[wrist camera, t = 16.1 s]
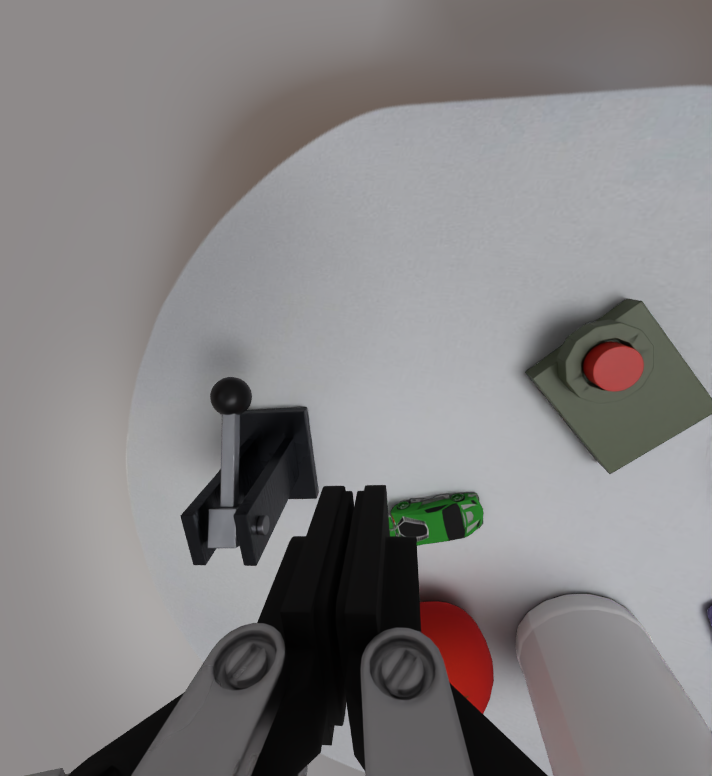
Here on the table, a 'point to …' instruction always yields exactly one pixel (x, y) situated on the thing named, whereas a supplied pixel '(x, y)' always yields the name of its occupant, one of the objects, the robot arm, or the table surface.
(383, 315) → the table surface
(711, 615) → the smartphone
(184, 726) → the robot arm
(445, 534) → the toy car
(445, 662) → the tomato
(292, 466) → the bracket
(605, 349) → the button
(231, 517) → the lever
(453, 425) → the table surface
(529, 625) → the bottle
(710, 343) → the table surface
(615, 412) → the button box
